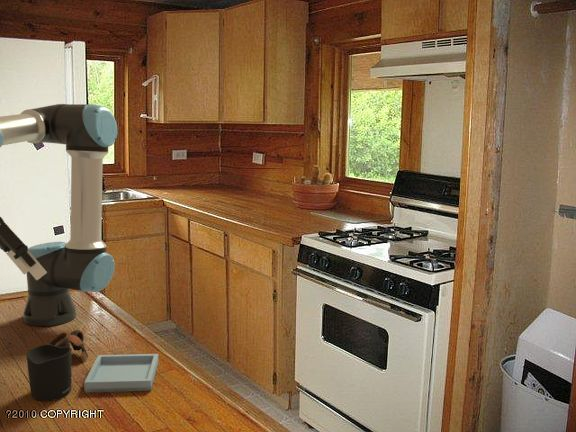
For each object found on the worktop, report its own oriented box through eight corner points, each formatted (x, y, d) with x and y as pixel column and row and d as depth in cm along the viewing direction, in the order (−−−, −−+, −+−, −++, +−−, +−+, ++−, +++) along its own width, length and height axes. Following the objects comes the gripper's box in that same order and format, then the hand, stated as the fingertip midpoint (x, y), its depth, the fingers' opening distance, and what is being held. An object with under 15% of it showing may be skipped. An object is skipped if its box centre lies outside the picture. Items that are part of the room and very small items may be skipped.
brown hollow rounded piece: (83, 369, 151) (63, 345, 148) (53, 381, 153) (33, 358, 150) (100, 340, 161) (82, 317, 158) (72, 351, 164) (54, 329, 161)
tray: (98, 364, 152) (98, 355, 152) (158, 362, 154) (158, 353, 153) (84, 392, 138) (84, 382, 137) (151, 390, 139) (150, 380, 139)
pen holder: (35, 406, 131) (32, 364, 129) (24, 390, 139) (22, 349, 137) (78, 395, 137) (76, 354, 135) (66, 379, 144) (64, 340, 142)
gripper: (-49, 210, 141) (11, 278, 149) (-35, 211, 120) (33, 290, 128) (-20, 191, 144) (36, 259, 152) (-3, 189, 124) (62, 267, 131)
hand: (35, 273), depth 140 cm, fingers open, 13 cm apart
